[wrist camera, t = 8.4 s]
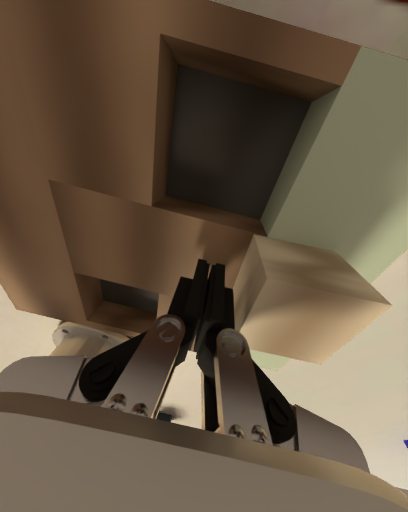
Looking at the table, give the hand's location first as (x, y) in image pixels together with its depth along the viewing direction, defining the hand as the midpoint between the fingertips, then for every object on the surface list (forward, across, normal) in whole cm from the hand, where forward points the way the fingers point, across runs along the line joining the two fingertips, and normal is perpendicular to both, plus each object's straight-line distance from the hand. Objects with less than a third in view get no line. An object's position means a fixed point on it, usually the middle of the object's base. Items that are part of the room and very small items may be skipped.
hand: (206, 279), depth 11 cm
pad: (+4, -7, 0) cm, 8 cm away
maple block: (+1, -5, -1) cm, 5 cm away
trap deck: (+4, +7, 0) cm, 9 cm away
